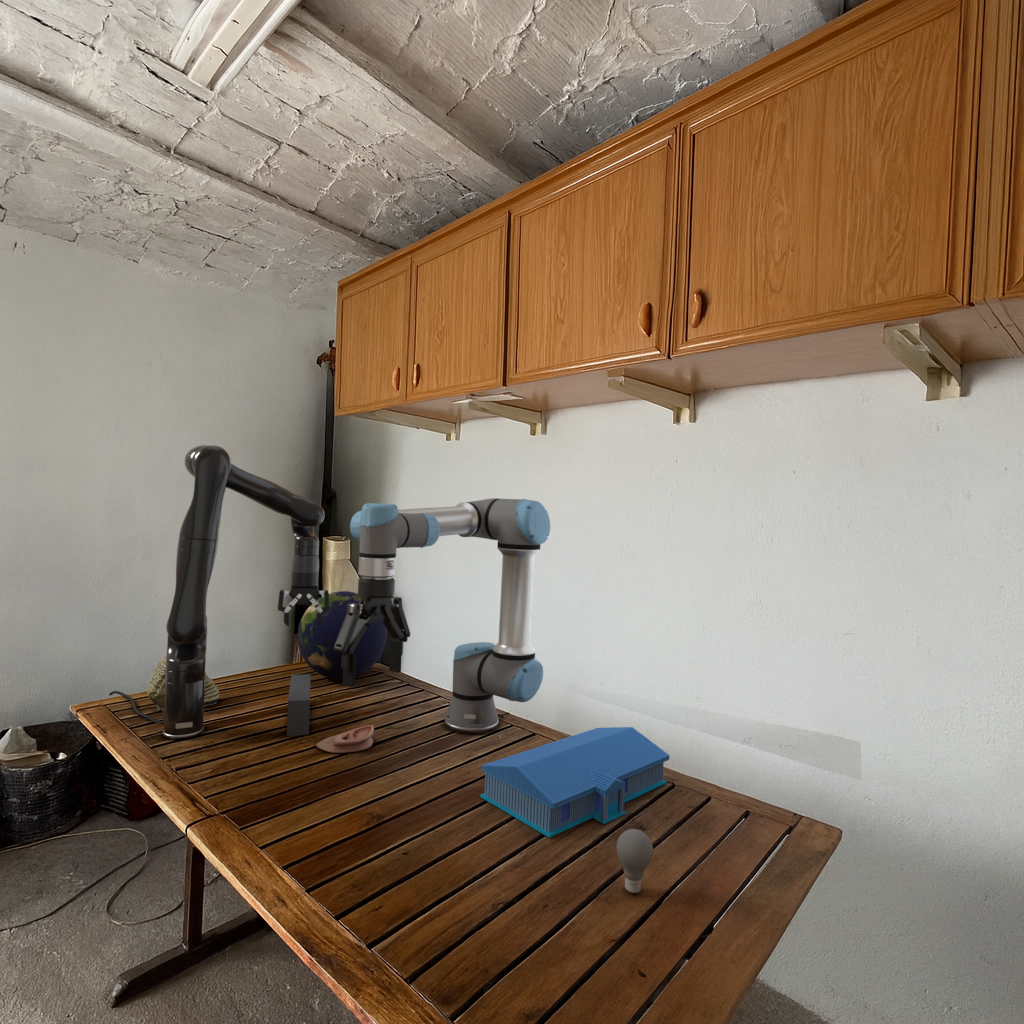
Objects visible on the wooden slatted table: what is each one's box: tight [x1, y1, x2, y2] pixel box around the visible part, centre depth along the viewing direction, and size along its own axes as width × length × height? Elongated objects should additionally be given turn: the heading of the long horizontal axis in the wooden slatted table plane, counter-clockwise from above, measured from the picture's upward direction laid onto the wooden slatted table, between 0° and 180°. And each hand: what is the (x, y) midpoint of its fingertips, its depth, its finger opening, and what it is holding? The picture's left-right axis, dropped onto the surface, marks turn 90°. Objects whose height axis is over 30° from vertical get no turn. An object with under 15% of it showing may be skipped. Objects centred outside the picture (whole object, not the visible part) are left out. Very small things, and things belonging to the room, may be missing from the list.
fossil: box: [147, 654, 221, 712], centre depth 185 cm, size 9×18×15 cm, turn 132°
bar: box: [286, 673, 312, 737], centre depth 178 cm, size 25×6×9 cm, turn 17°
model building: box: [479, 726, 670, 839], centre depth 141 cm, size 39×24×10 cm, turn 132°
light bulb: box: [615, 828, 654, 894], centre depth 106 cm, size 6×6×10 cm
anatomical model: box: [316, 724, 375, 754], centre depth 162 cm, size 13×4×12 cm
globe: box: [297, 590, 388, 680], centre depth 220 cm, size 30×30×30 cm
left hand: (302, 625), depth 186 cm, fingers open, 8 cm apart
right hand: (372, 678), depth 133 cm, fingers open, 13 cm apart
